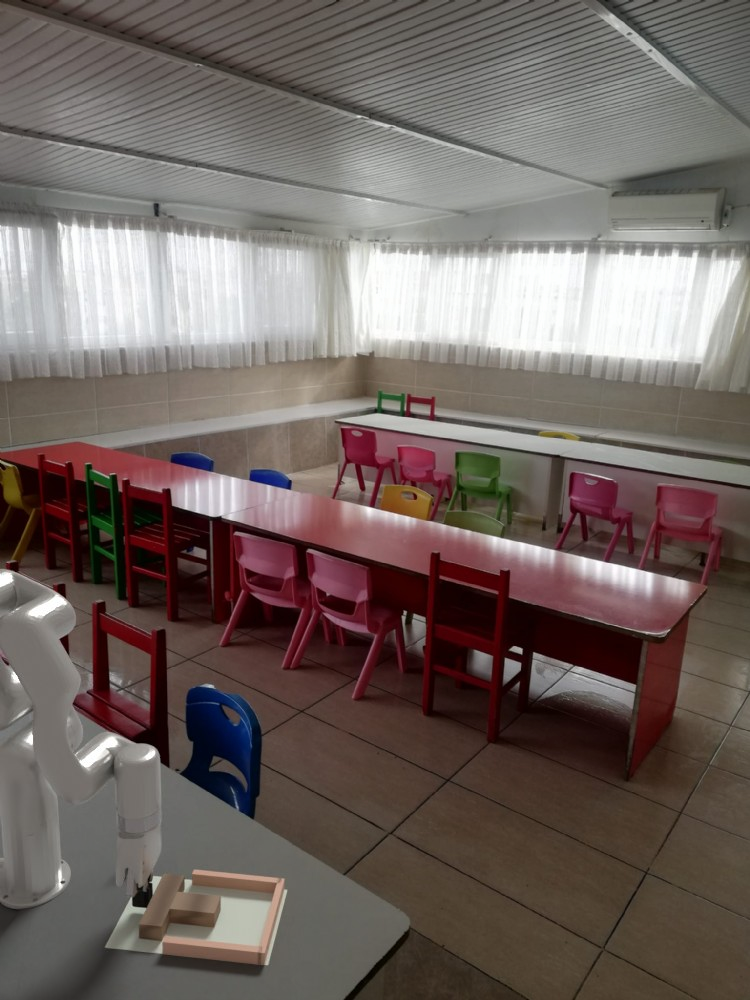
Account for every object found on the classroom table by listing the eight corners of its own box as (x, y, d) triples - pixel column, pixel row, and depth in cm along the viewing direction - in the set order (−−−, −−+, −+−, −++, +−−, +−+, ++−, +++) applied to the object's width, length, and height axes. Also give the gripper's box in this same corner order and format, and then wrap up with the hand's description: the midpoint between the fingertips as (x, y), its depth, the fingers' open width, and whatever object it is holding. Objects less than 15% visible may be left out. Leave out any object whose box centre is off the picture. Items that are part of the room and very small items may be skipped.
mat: (104, 950, 126) (104, 947, 126) (142, 877, 143) (142, 874, 142) (268, 968, 124) (268, 965, 124) (287, 892, 141) (287, 889, 141)
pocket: (162, 953, 125) (162, 941, 125) (194, 880, 142) (193, 869, 141) (264, 964, 124) (264, 953, 124) (284, 889, 141) (284, 878, 140)
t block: (139, 938, 128) (138, 924, 127) (163, 887, 140) (163, 873, 139) (207, 946, 127) (207, 931, 127) (226, 893, 139) (226, 880, 138)
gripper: (135, 787, 137) (138, 872, 141) (99, 842, 122) (104, 935, 127) (175, 790, 136) (177, 876, 141) (144, 846, 122) (147, 939, 126)
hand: (142, 904), depth 134 cm, fingers closed
